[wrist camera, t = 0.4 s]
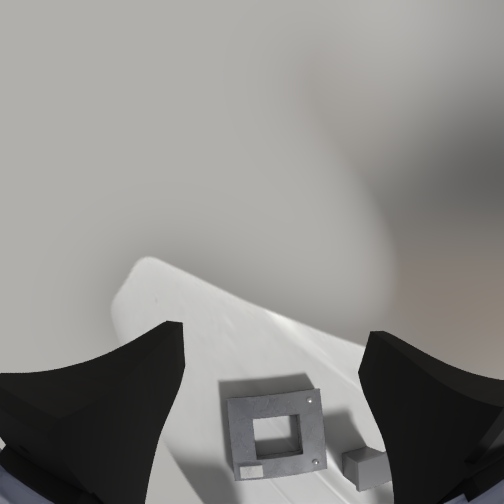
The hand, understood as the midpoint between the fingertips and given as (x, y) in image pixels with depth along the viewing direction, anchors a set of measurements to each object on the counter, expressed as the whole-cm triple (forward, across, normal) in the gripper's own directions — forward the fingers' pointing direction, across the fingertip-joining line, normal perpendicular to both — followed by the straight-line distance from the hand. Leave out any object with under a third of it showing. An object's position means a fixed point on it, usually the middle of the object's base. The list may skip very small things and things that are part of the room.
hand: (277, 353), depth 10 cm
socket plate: (+16, -4, +25) cm, 30 cm away
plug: (+12, -16, +29) cm, 35 cm away
